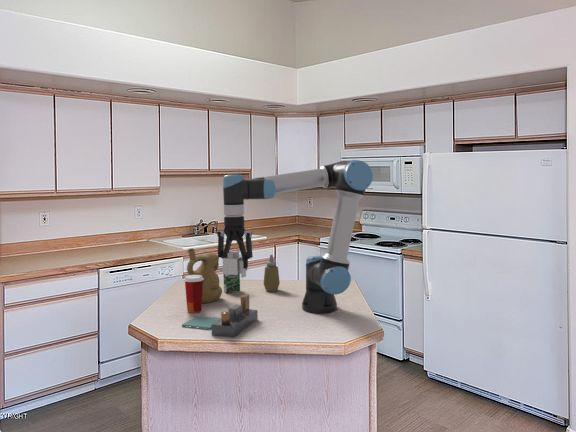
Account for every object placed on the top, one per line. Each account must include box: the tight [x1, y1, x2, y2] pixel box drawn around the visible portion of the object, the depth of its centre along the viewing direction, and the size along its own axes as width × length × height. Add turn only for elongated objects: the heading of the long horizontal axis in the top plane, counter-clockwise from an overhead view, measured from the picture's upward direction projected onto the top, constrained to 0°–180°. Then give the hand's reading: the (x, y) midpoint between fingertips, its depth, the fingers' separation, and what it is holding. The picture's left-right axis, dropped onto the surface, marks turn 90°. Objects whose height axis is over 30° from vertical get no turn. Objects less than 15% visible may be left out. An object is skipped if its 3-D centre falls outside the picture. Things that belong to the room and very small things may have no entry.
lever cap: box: [222, 250, 248, 275], centre depth 184 cm, size 6×9×8 cm, turn 161°
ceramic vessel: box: [186, 248, 223, 304], centre depth 224 cm, size 17×20×25 cm
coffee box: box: [222, 273, 241, 294], centre depth 240 cm, size 8×3×13 cm, turn 125°
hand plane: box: [211, 293, 259, 338], centre depth 186 cm, size 9×22×10 cm, turn 161°
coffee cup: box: [183, 274, 204, 314], centre depth 207 cm, size 8×8×15 cm
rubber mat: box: [181, 315, 221, 330], centre depth 191 cm, size 12×12×1 cm
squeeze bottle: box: [263, 254, 281, 293], centre depth 241 cm, size 8×8×18 cm
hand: (235, 276), depth 184 cm, fingers closed on lever cap, 6 cm apart
